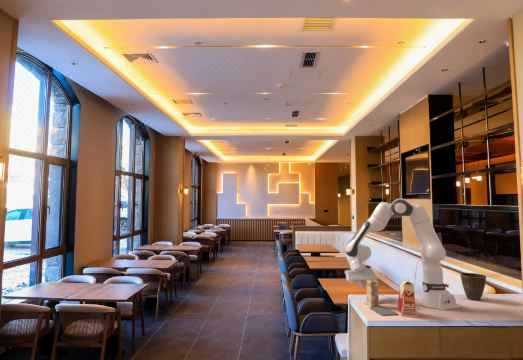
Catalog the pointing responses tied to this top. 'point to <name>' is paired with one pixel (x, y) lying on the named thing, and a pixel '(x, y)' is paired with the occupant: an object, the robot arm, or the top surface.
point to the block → (372, 293)
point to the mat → (383, 311)
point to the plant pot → (473, 285)
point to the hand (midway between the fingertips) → (365, 287)
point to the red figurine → (407, 300)
